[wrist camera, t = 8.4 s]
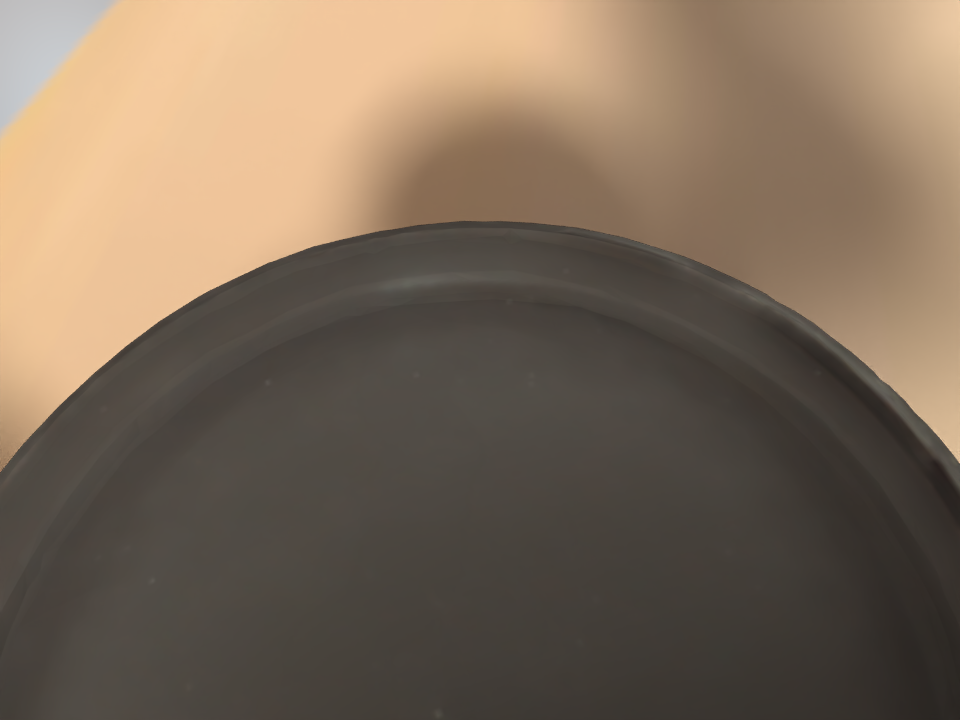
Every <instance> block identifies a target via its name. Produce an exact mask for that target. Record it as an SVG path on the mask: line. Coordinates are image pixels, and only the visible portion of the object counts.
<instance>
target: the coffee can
mask: <svg viewBox="0 0 960 720" xmlns="http://www.w3.org/2000/svg"><path fill="white" fill-rule="evenodd" d="M0 720H960V463H959V462H958V461H957V459H956V458H955V457H954V456H953V454H952V453H951V452H950V451H949V449H948V448H947V447H946V446H945V444H944V443H943V442H942V441H941V439H940V438H939V437H938V436H937V435H936V434H935V433H934V432H933V430H932V429H931V428H930V427H929V426H928V425H927V424H926V423H925V422H924V421H923V420H922V419H921V418H920V417H919V416H918V415H917V414H916V413H915V412H914V411H913V410H912V409H911V408H910V406H909V405H908V404H907V403H906V401H905V400H904V399H903V398H902V397H900V396H899V395H898V394H897V393H896V392H895V391H894V390H893V389H892V388H891V387H890V386H889V385H887V384H886V383H884V382H883V381H882V380H880V379H879V378H878V376H877V375H876V374H875V373H874V372H873V371H872V370H871V369H870V368H869V367H868V366H867V365H865V364H864V363H863V362H862V361H861V360H860V359H859V358H857V357H856V356H855V355H854V354H853V353H852V352H850V351H849V350H848V349H846V348H845V347H844V346H842V345H841V344H840V343H838V342H837V341H836V340H834V339H833V338H832V337H830V336H829V335H828V334H827V333H825V332H824V331H823V330H822V329H820V328H819V327H818V326H817V325H815V324H814V323H812V322H811V321H809V320H808V319H806V318H805V317H803V316H802V315H800V314H798V313H797V312H795V311H794V310H792V309H790V308H788V307H786V306H784V305H782V304H780V303H779V302H777V301H775V300H774V299H772V298H771V297H769V296H768V295H767V294H765V293H763V292H761V291H759V290H757V289H755V288H753V287H751V286H750V285H748V284H746V283H743V282H741V281H739V280H737V279H735V278H733V277H730V276H728V275H726V274H724V273H722V272H719V271H717V270H715V269H713V268H711V267H709V266H706V265H704V264H701V263H699V262H696V261H694V260H691V259H689V258H686V257H684V256H681V255H678V254H675V253H672V252H669V251H665V250H662V249H659V248H656V247H653V246H649V245H646V244H643V243H640V242H637V241H633V240H630V239H627V238H623V237H619V236H614V235H609V234H605V233H600V232H595V231H590V230H586V229H581V228H575V227H565V226H556V225H546V224H536V223H522V222H503V221H493V222H476V221H459V222H448V223H437V224H426V225H417V226H411V227H405V228H399V229H394V230H386V231H379V232H374V233H370V234H365V235H361V236H356V237H352V238H347V239H343V240H339V241H335V242H330V243H326V244H322V245H318V246H314V247H311V248H308V249H306V250H303V251H300V252H298V253H295V254H292V255H289V256H287V257H284V258H281V259H279V260H276V261H273V262H270V263H267V264H265V265H263V266H261V267H259V268H257V269H255V270H252V271H250V272H248V273H246V274H244V275H242V276H240V277H238V278H235V279H233V280H231V281H229V282H227V283H225V284H223V285H221V286H219V287H216V288H214V289H212V290H210V291H208V292H206V293H205V294H203V295H201V296H199V297H197V298H196V299H194V300H193V301H191V302H189V303H188V304H186V305H185V306H183V307H182V308H180V309H178V310H177V311H175V312H174V313H172V314H170V315H169V316H167V317H166V318H164V319H163V320H161V321H159V322H158V323H157V324H155V325H154V326H153V327H151V328H150V329H149V330H147V331H146V332H145V333H143V334H142V335H141V336H139V337H138V338H137V339H135V340H134V341H133V342H131V343H130V344H129V345H127V346H126V347H125V348H124V349H122V350H121V351H120V352H119V353H118V354H117V355H115V356H114V357H113V358H112V359H111V360H109V361H108V362H107V363H106V364H105V365H104V366H102V367H101V368H100V369H99V370H97V371H96V372H95V373H94V374H93V375H92V376H91V377H90V378H89V379H88V380H86V381H85V382H84V383H83V384H82V385H81V386H80V387H79V388H78V389H77V390H76V391H75V392H74V393H73V394H71V395H70V396H69V397H68V398H67V399H66V400H65V401H64V402H63V403H62V404H61V405H60V406H59V407H58V408H57V409H56V410H55V411H54V412H53V413H52V414H51V415H50V416H49V417H48V418H47V419H46V421H45V422H44V423H43V424H42V425H41V426H40V427H39V428H38V429H37V430H36V431H35V432H34V433H33V434H32V435H31V436H30V438H29V439H28V440H27V441H26V442H25V443H24V444H23V445H22V446H21V448H20V449H19V450H18V451H17V453H16V454H15V455H14V456H13V458H12V459H11V460H10V461H9V463H8V464H7V465H6V466H5V467H4V469H3V470H2V471H1V472H0Z"/></svg>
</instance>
